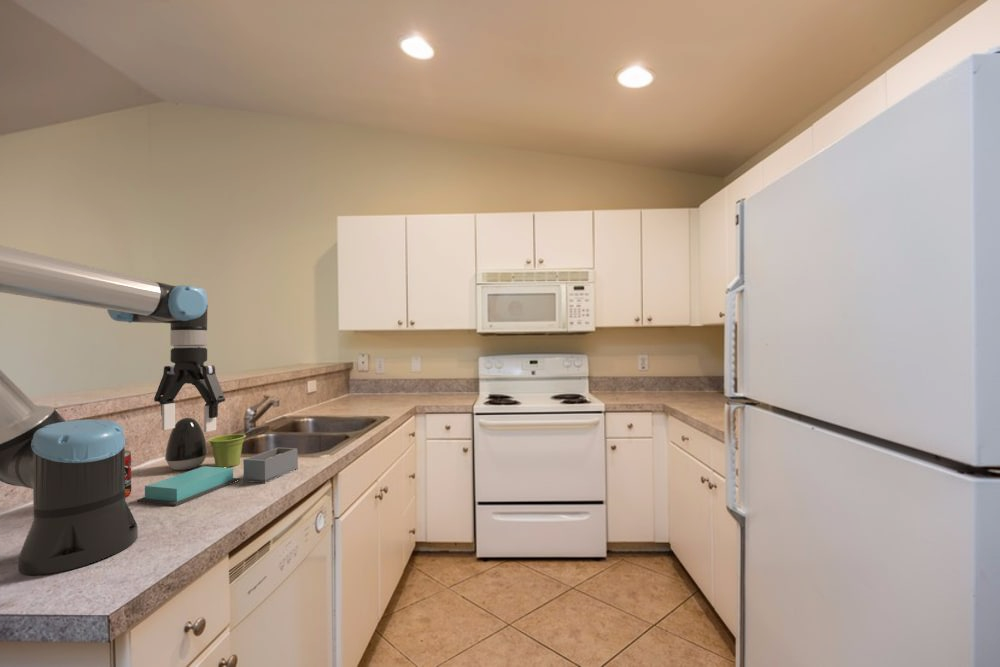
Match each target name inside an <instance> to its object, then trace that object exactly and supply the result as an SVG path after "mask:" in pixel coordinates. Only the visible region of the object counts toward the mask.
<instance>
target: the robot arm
mask: <svg viewBox="0 0 1000 667" xmlns="http://www.w3.org/2000/svg"><path fill="white" fill-rule="evenodd" d="M0 293H3V294H10V295H16V296H21V297H27V298H35V299H40V300H47V301H52V302H60V303H65V304H72V305H77V306H84V307H90V308H91V307H92V308H96V309H104V310H107V314H108V316H109V317H110V318H111V319H112V320H114V321H116V322H121V323H122V322H125V323H126V322H127V323H129V324H130V323H131V324H132V323H148V324H170V333H169V334H170V336H169V337H170V338H169V340H170V341H169V342H170V343H169V344H170V346H171V347H173V348H171V349H170V362H171V363H173V364H174V365H165V366H164V367H163V374H162V376H161V380H160V383H159V385H158V387H157V390H156V392H155V396H154V397H153V401H154V402H158V403H159V404H160V408H161V410H160V411H161V413H160V415H161V430H162V431H166V430H172V429H173V428H175V424H176V403H175V402H176V401H175V398H176V397H177V395H179V392H180V391H181V389H182V387H183V386H184V385H186V384H188V385H189V384H190V385H192V386H194V387H195V389H197V391H198V393H199V394H200V395H201V397H202V399H203V400H204V402H205V404H204V405H203V433H208V432H209V433H210V432H213V431H216V430H217V418H218V416H219V412H218V410H219V409H218V407H219V404H221V403H223V402H225V401H226V397H225V394H224V392H223V390H222V387H221V384H220V382H219V380H218V377H217V375H216V367H215V365H205V364H204V363H206V362H207V361H208V348H207V347H205V346H207V345H208V307H209V302H208V294H207V291H206V290H205V289H204V288H202V287H197V286H192V285H184V284H183V285H173V284H167V283H164V282H158V281H153V280H151V279H150V280H149V279H146V278H142V277H137V276H132V275H129V274H125V273H119V272H116V271H112V270H108V269H107V270H106V269H102V268H98V267H94V266H90V265H87V264H86V265H85V264H81V263H78V262H73V261H69V260H65V259H61V258H55V257H52V256H46V255H43V254H38V253H34V252H30V251H27V250H22V249H17V248H13V247H9V246H4V245H0ZM125 446H126V438H125V433H124V428H123V426H122V425H121V424H120V423H118V422H116V421H114V420H109V419H87V418H86V419H77V420H75V419H74V420H66V419H65V418H64V417H63V416H62V415H61V414H60V413H59V412H58V411H57V410H56V409H55V408H54V407H53V406H50V405H38V404H35V403H34V402H33V401H32V399H30V398H29V397H28V396H27V395H26V394H25V393H24V392H23V391H22V390H21V389H20V388H19V387H18V386H17V384H16V383H14V382H13V381H12V380H11V379H10V378H9V377H8V376H7V375H6V374H5V373H4V371H2V370H1V369H0V482H1V483H4V484H6V485H10V486H13V487H23V488H27V489H31V490H32V493H33V494H32V495H33V496H32V497H33V501H32V502H33V520H32V524H31V525H30V526H31V527H30V529H29V531H28V533H27V536H26V538H25V540H24V542H23V545H22V548H21V550H20V552H19V554H18V563H17V564H18V571H19V573H21V574H22V575H28V576H30V575H31V576H32V575H33V576H38V575H49V574H54V573H60V572H65V571H70V570H72V569H78V568H80V567H84V566H87V565H89V564H90V563H91V564H94V563H95V562H96V561H97V562H99V561H102V560H104V558H105V559H107V558H109V557H111V556H110V555H112V556H114V555H116V554H119V553H120V552H122V551H123V550H126V549H127V548H129V547H130V546H132V545H133V544H134V543H135V542H136V541H137V539H138V537H139V533H138V532H139V531H138V530H139V529H138V528H139V527H138V523H137V521H136V519H135V518H134V515H133V513H132V511H131V509H130V507H129V505H128V503H127V501H126V498H125V450H126V449H125ZM113 554H114V555H113ZM108 556H109V557H108ZM106 557H107V558H106ZM101 559H102V560H101ZM93 562H94V563H93Z"/></svg>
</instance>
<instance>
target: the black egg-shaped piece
mask: <svg viewBox="0 0 1000 667" xmlns="http://www.w3.org/2000/svg"><path fill="white" fill-rule="evenodd" d="M207 455H208V445H207V440H206V436H205V434H204V430H203V429H202V427H201V426H200V424H199V422H198V421H197V420H196V419H195V418H191V417H185V418H182V419H179V420H178V421H177V422H175V428H172V429H171V432H170V434H169V437H168V440H167V445H166V449H165V455H164V456H165V457H164V459H165V461H166V462H167V465H168V466H169V468H170V469H172V470H174V471H186V469H188V470H191V468H193V469H196V468H197V467H199V466H201V465H202V464H203V463H204V461H205V459H206V457H207Z"/></svg>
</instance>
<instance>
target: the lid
mask: <svg viewBox="0 0 1000 667" xmlns="http://www.w3.org/2000/svg"><path fill="white" fill-rule="evenodd" d="M233 478H234V468H233V467H228V468H221V467H216V466H204V465H203V466H201V467H198V468H197V467H196V468H193V469H192V470H191V469H190V470H189V471H188V470H187V471H185V472H183V473H180V474H176V475H174V476H171V477H170V476H169V477H168V478H165V479H161V480H159V481H155V482H151V483H150V484H145V485H144V497H145V498H146V499H156V500H166V501H176V502H177V501H180V500H182V499H185V498H187V497H190V496H192V495H195V494H197V493H200V492H203V491H205V490H208V489H210V488H213V487H215V486H218V485H220V484H223V483H225V482H228V481H230V480H233Z"/></svg>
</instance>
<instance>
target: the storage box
mask: <svg viewBox="0 0 1000 667" xmlns="http://www.w3.org/2000/svg"><path fill="white" fill-rule="evenodd" d="M298 455H299V453H298V448H295V447H294V448H293V447H275V448H272V449H269V450H267V451H264V452H261V453H257V454H256V455H253V456H249V457H246V458H243V462H242V463H243V482H244V481H253V482H252V483H255V482H267V483H269V482H271V481H270V480H272V479H274V480H276V479H278V478H280V477H279V476H281V477H282V475H283V474H285V475H287V474H289V473H288V472H290V471H292V472H294V471H296V470H298V469H299V464H298V463H299V460H298V458H299V456H298ZM295 469H296V470H295ZM293 470H294V471H293ZM286 473H287V474H286ZM290 473H291V472H290ZM283 476H284V475H283ZM277 477H278V478H277ZM275 478H276V479H275ZM268 481H269V482H268ZM272 481H273V480H272Z"/></svg>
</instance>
